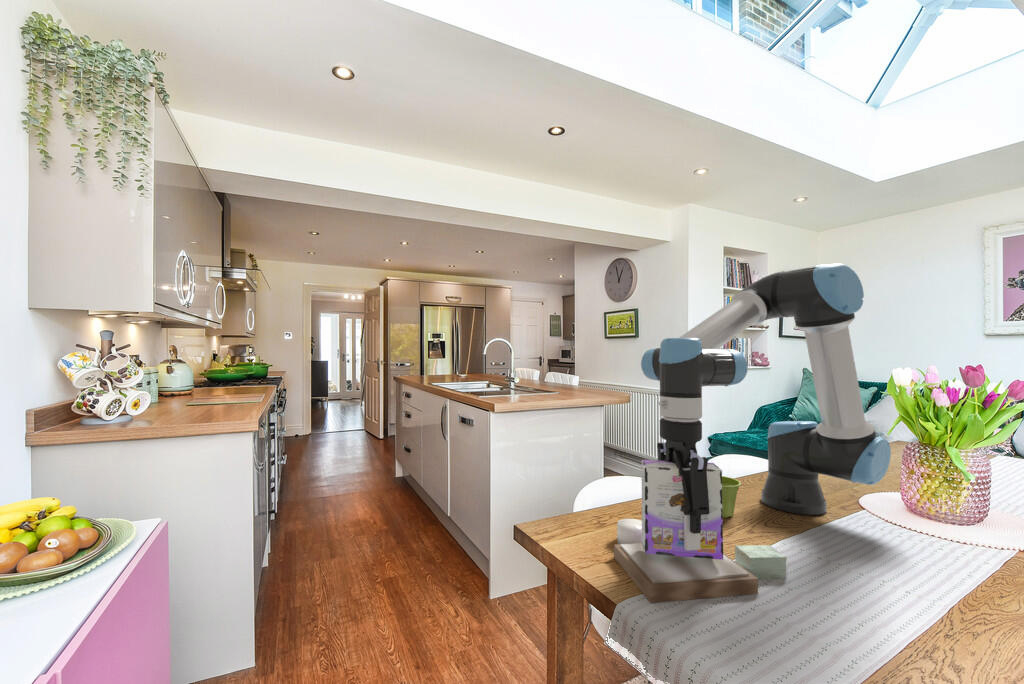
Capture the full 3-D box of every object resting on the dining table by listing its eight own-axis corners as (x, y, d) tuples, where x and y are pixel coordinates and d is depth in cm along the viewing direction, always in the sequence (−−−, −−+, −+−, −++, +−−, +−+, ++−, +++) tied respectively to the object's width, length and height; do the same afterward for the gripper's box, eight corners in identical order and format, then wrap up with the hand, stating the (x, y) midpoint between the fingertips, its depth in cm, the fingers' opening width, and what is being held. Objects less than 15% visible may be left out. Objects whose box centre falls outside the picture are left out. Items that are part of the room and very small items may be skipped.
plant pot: (743, 523, 106) (742, 487, 106) (701, 517, 110) (701, 483, 110) (738, 510, 115) (738, 477, 115) (700, 505, 118) (700, 473, 119)
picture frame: (703, 551, 91) (703, 536, 91) (758, 593, 75) (758, 576, 75) (613, 557, 88) (613, 542, 88) (650, 602, 72) (650, 584, 72)
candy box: (714, 547, 83) (714, 461, 84) (723, 561, 78) (723, 469, 78) (640, 540, 86) (641, 457, 86) (644, 554, 80) (644, 465, 81)
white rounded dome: (641, 535, 99) (641, 517, 99) (656, 549, 92) (656, 530, 92) (612, 537, 98) (612, 519, 98) (625, 551, 91) (625, 532, 91)
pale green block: (769, 565, 86) (769, 545, 86) (786, 578, 81) (786, 557, 81) (735, 565, 85) (735, 545, 85) (750, 579, 80) (750, 557, 80)
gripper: (638, 411, 92) (638, 520, 91) (692, 428, 72) (692, 567, 71) (671, 410, 93) (671, 518, 92) (733, 427, 73) (733, 564, 72)
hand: (680, 539), depth 82 cm, fingers closed on candy box, 7 cm apart
